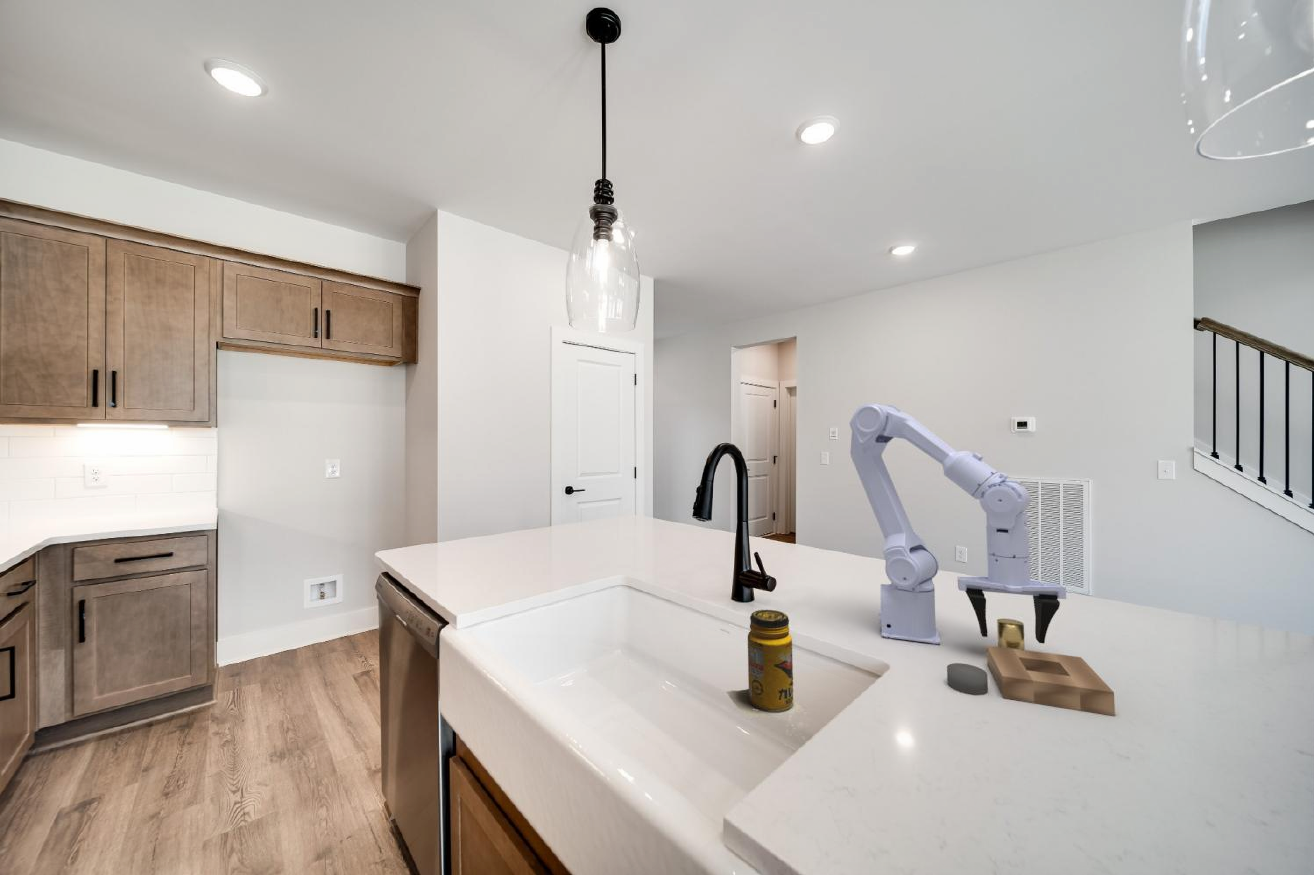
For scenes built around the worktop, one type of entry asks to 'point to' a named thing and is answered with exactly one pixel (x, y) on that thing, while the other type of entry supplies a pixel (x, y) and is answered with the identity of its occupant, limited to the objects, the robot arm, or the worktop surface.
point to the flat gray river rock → (967, 679)
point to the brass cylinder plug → (1010, 634)
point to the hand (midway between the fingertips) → (1011, 638)
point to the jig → (1049, 680)
